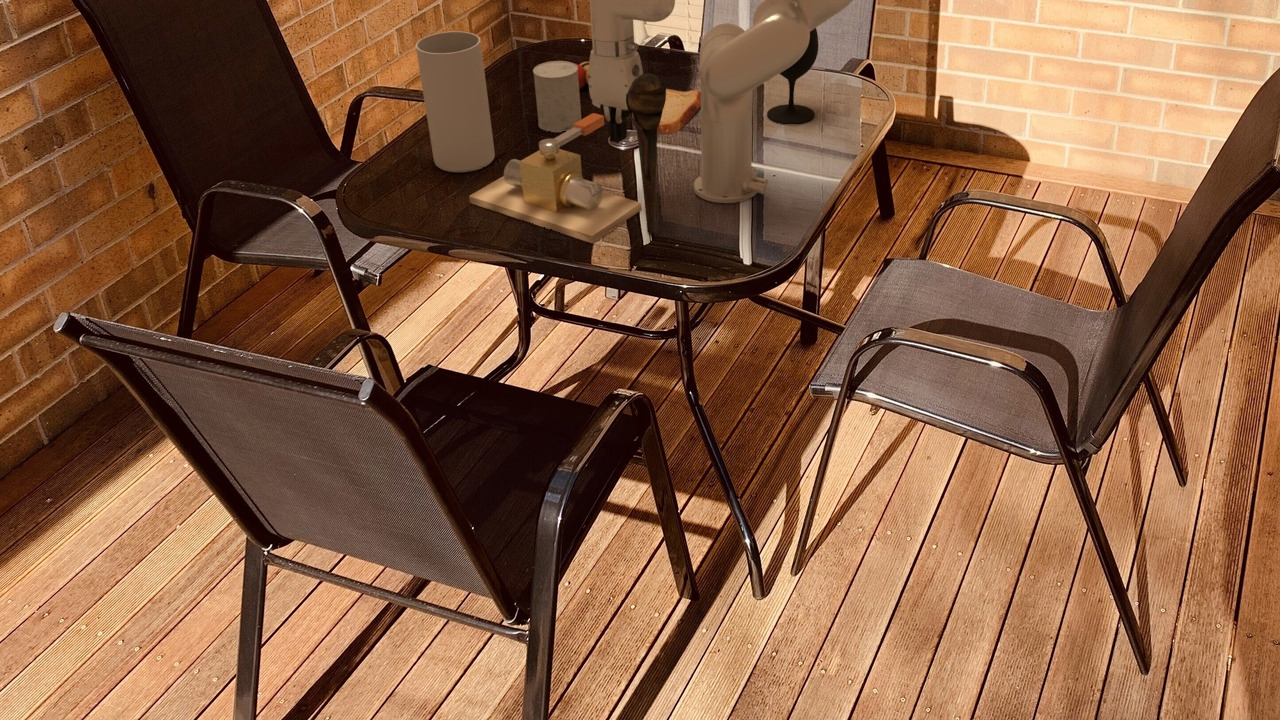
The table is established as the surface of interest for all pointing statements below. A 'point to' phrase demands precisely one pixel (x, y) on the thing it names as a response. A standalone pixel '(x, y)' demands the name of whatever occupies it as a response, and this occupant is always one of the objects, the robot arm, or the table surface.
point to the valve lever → (571, 134)
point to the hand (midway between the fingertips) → (618, 139)
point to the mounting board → (565, 221)
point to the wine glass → (791, 111)
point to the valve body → (553, 181)
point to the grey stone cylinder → (557, 95)
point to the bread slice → (678, 110)
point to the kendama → (583, 74)
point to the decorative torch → (647, 132)
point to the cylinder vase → (456, 100)
